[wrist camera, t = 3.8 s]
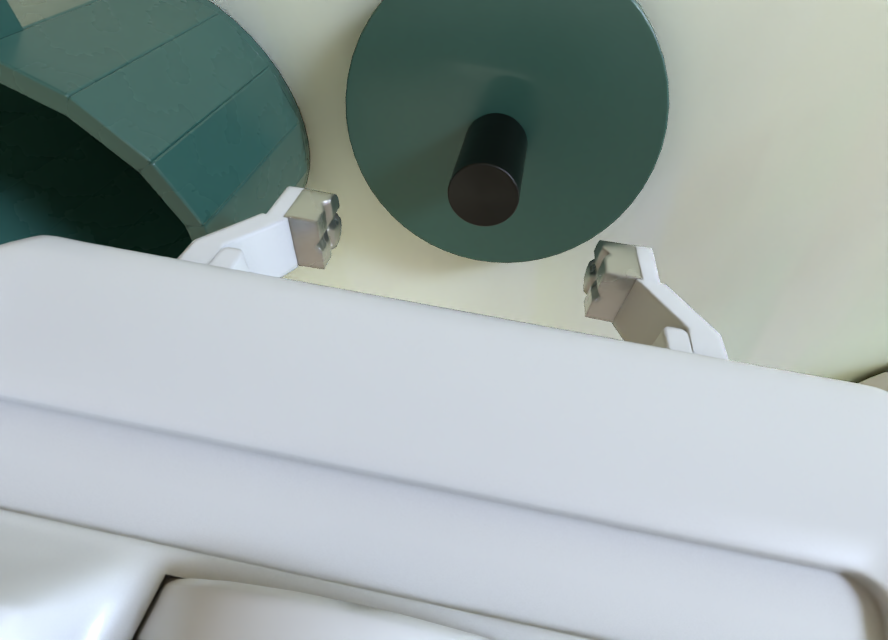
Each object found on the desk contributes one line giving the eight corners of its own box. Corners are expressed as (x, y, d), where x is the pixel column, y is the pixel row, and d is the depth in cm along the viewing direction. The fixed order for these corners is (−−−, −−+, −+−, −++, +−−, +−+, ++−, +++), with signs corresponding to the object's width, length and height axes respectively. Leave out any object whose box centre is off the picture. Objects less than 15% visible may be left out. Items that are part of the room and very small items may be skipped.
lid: (739, -39, 14) (791, 8, 10) (598, 268, 24) (602, 343, 20) (338, -91, 15) (268, -63, 11) (364, 225, 25) (331, 290, 21)
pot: (266, -108, 15) (82, -63, 9) (330, 272, 28) (270, 383, 22) (-56, -149, 16) (-398, -131, 10) (154, 238, 29) (55, 337, 23)
